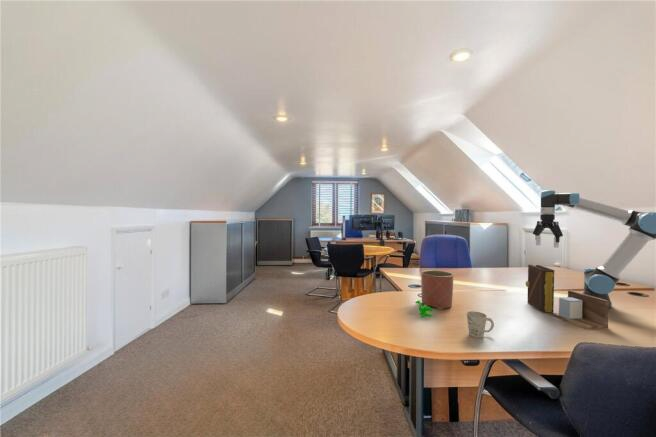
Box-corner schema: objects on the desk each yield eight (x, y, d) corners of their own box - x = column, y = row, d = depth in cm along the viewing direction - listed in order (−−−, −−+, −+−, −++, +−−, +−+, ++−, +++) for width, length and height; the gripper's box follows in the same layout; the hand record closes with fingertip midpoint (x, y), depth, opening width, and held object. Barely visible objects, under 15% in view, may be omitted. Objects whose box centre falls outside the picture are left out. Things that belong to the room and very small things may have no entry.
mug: (462, 332, 140) (463, 311, 140) (487, 331, 142) (487, 311, 141) (472, 339, 132) (473, 317, 132) (499, 338, 133) (499, 317, 133)
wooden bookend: (570, 314, 167) (571, 290, 167) (608, 328, 147) (608, 300, 147) (551, 315, 166) (552, 290, 166) (587, 329, 146) (587, 301, 146)
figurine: (410, 313, 164) (413, 297, 164) (430, 316, 166) (433, 300, 166) (415, 317, 158) (418, 300, 158) (435, 320, 159) (438, 304, 160)
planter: (459, 306, 180) (459, 274, 180) (440, 311, 170) (441, 277, 169) (432, 298, 196) (433, 269, 196) (414, 303, 185) (414, 272, 185)
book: (557, 313, 169) (558, 270, 168) (540, 312, 170) (541, 270, 170) (537, 302, 190) (538, 264, 190) (523, 301, 192) (524, 263, 192)
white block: (571, 315, 163) (571, 297, 163) (582, 319, 157) (583, 300, 157) (558, 315, 162) (559, 297, 162) (569, 319, 156) (569, 300, 156)
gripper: (527, 213, 203) (526, 244, 203) (559, 214, 178) (558, 248, 178) (536, 214, 204) (536, 244, 204) (570, 214, 179) (569, 248, 179)
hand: (546, 246), depth 191 cm, fingers open, 13 cm apart
